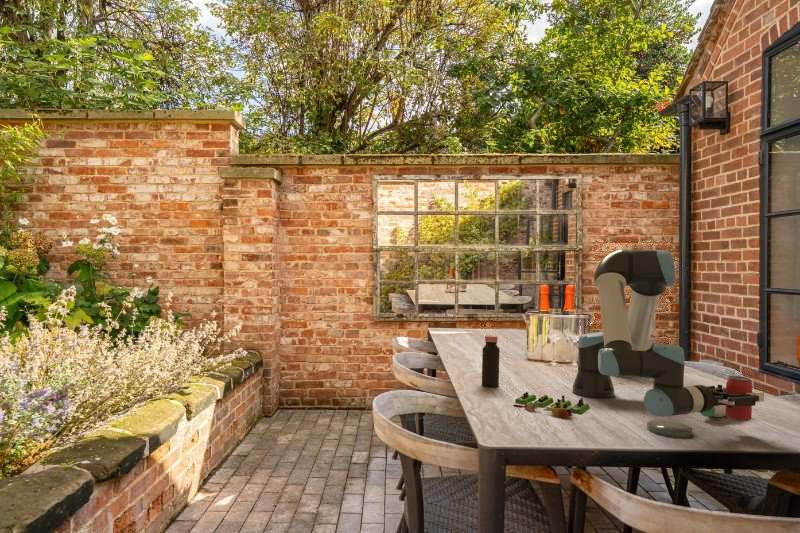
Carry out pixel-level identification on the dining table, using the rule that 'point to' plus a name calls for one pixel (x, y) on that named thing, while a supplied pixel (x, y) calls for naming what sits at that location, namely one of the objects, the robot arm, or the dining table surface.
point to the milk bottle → (715, 411)
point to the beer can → (738, 387)
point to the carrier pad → (669, 428)
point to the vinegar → (490, 362)
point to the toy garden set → (558, 408)
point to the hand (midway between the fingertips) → (750, 393)
